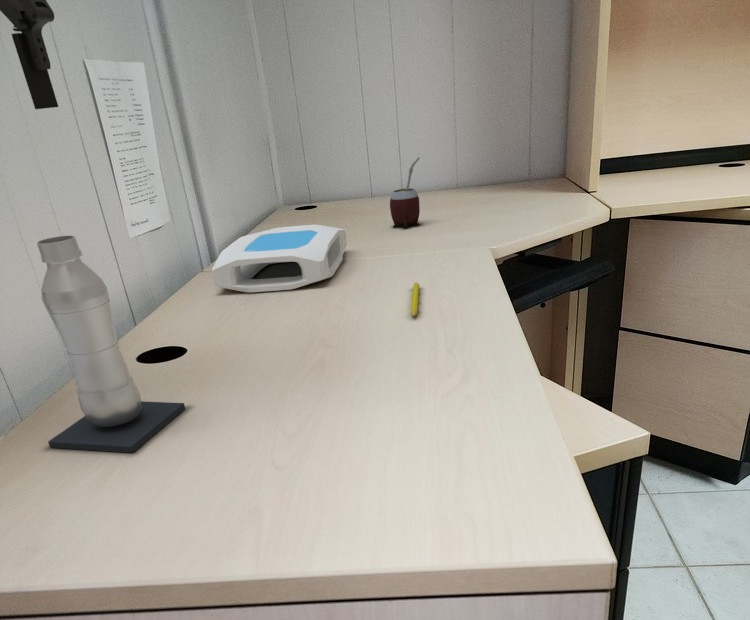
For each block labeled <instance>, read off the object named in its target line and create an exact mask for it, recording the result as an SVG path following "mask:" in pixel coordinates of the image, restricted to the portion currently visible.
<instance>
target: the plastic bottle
mask: <svg viewBox="0 0 750 620" xmlns="http://www.w3.org/2000/svg"><path fill="white" fill-rule="evenodd" d="M36 244H37V245H36V246H37V248H38V251H39V254H40V260H41V262H42V263H44V264H46V271H45V273H44V277H43V280H42V285H41V289H40V293H41V294H40V295H41V301H42V303H43V305H44V308H45V310H46V311H47V313H48V315H49V317H50V319H51V321H52V323H53V325H54V327H55V329H56V331H57V332H58V335H59V337H60V340H61V342H62V345H63V348H65V349H66V355H67V356H68V359H69V363H70V365H71V369H72V373H73V377H74V380H75V385H76V387H77V389H76V390H77V391H76V392H77V398H78V399H77V400H78V402H79V408H80V410H81V412H82V413H83V415H84V416H85V417H86V419H87V420H88V421H90V422H91V423H92V424H94V425H95V426H99V427H111V426H117V425H121V424H124V423H127V422H129V421H131V420H133V419H135V418H136V417H137V416H138V415H139V413H140V410H141V407H142V405H141V401H142V396H141V392H140V390H139V388H138V386H137V383H136V382H135V380H134V378H133V376H131V373H130V370H129V368H128V366H127V363H126V361H125V358H124V355H123V353H122V351H121V348H120V344H119V340H118V339H117V332H116V328H115V324H114V320H113V314H112V313H113V312H112V306H111V301H110V298H109V297H110V295H109V291H108V287H107V285H106V283H105V282H104V281H103V279H102V278H101V277H100V276H99V275H98V274H97V273H96V272H95V271H94V270H93V269H92V268H90V266H88V265H87V264H85V263H84V262H83V260H82V259H81V257H82V256H83V253H82V250H81V249H80V247H79V244H78V241H77V239H76V235H60V236H59V235H58V236H53V237H49V238H44V239H41V240H39V241H37V242H36Z"/></svg>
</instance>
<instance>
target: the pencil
mask: <svg viewBox="0 0 750 620" xmlns="http://www.w3.org/2000/svg"><path fill="white" fill-rule="evenodd" d="M412 285H413V286H412V294H411V295H412V296H411V305H410V315H411V316H412V317H415V316H417V314H418V307H419V306H418V305H419V295H420V293H419V292H420V284H419V282H414V283H413V284H412Z"/></svg>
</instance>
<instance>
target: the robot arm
mask: <svg viewBox="0 0 750 620" xmlns="http://www.w3.org/2000/svg"><path fill="white" fill-rule="evenodd" d="M0 12H1V13H2V15H4V17H5V18H7V20H8V21H9V22H10V23H11V24H12V25H13V28H12V30H13V31H14V32H16V33H11V37H12V40H13V44H14V47H15V50H16V53H17V57H18V60H19V63H20V66H21V69H22V72H23V75H24V78H25V81H26V84H27V88H28V92H29V94H30V98H31V100H32V103H33V106H34V110H43V109H53V108H59V103H58V100H57V96H56V94H55V90H54V87H53V84H52V80H51V78H50V74H49V71H48V70H51V61H50V57H49V54H48V52H47V47H46V44H45V41H44V37H43V33H42V32H43V27H45V26H46V25H47V24H48V23H52V22H54V20H55V13H54V11H53V9H52V7H51V6H50V5H49V2H48V1H47V0H0Z"/></svg>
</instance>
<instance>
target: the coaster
mask: <svg viewBox="0 0 750 620" xmlns="http://www.w3.org/2000/svg"><path fill="white" fill-rule="evenodd" d="M141 405H142V407H141V410H140V413H139V415H138V416H137V417H136V418H135V419H133V420H131V421H129V422H127V423H124V424H121V425H117V426H111V427H99V426H95V425H94V424H92V423H91V422H90V421H88V420H87V419H86V417H85V415H84V416H83V417H81V418H80V419H78V420H77V421H75V422H74V423H73V424H71V425H70V426H68V427H67V428H66V429H64V430H63V431H61V432H60V433H58V434H57V435H56V436H54V437H52V438H51V439H49V440H47V444H48V445H49V448H51V449H64V450H65V449H66V450H81V451H95V452H96V451H97V452H111V453H126V454H127V453H129V454H133V453H135V452H136V451H137V450H138V449H140V447H142V446H143V445H144V444H146V443H147V442H148V441H150V439H151V438H153V437H154V436H155V435H157V434H158V432H160V431H161V430H162V429H164V427H166V426H167V425H168V424H169V423H170V422H171V421H173V420H174V419H175V418H176V417H177V416H179V415H180V414H181V413H182V412H184V411H185V410H186V406H185V403H184V402H167V401H166V402H165V401H143V400H141Z"/></svg>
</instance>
